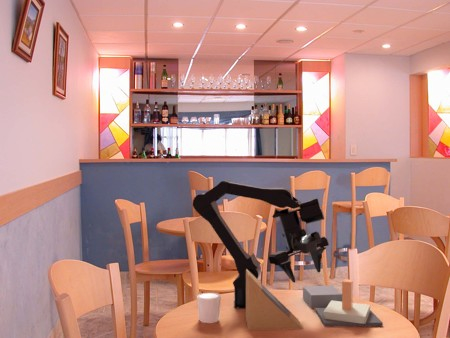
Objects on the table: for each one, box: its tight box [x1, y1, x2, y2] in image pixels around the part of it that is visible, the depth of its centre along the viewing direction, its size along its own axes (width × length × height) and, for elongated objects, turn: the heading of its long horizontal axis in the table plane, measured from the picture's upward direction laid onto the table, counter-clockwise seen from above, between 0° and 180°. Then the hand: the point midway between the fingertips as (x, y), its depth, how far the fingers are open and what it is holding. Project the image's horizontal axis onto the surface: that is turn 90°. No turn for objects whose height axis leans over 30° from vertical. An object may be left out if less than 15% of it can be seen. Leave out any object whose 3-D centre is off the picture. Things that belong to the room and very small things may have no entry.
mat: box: [314, 308, 384, 328], centre depth 141 cm, size 16×13×1 cm
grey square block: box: [302, 285, 342, 309], centre depth 156 cm, size 10×10×4 cm
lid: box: [324, 278, 371, 324], centre depth 141 cm, size 11×11×10 cm
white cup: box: [196, 292, 222, 324], centre depth 140 cm, size 7×7×7 cm
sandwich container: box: [245, 269, 304, 331], centre depth 136 cm, size 9×15×15 cm, turn 93°
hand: (306, 277), depth 149 cm, fingers open, 9 cm apart
